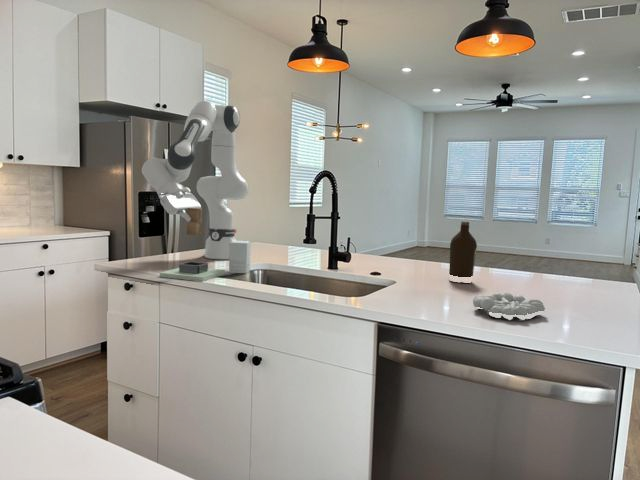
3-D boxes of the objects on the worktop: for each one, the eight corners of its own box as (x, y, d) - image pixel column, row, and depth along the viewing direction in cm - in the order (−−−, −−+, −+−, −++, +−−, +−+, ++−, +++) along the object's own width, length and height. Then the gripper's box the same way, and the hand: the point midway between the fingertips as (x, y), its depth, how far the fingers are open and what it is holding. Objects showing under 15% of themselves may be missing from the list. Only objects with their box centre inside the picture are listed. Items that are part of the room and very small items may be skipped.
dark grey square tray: (189, 268, 197) (189, 261, 197) (208, 270, 195) (209, 263, 194) (177, 272, 189) (178, 264, 189) (197, 274, 187) (198, 266, 186)
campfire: (475, 302, 169) (477, 285, 169) (543, 311, 161) (544, 293, 160) (468, 318, 149) (470, 299, 148) (544, 329, 141) (546, 309, 140)
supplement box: (250, 270, 208) (251, 241, 206) (246, 274, 200) (247, 242, 199) (233, 269, 208) (234, 240, 207) (228, 272, 201) (229, 241, 200)
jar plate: (185, 269, 203) (185, 265, 203) (225, 273, 198) (225, 270, 198) (159, 276, 186) (159, 272, 186) (202, 281, 181) (203, 277, 181)
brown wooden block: (192, 233, 193) (192, 207, 192) (201, 234, 192) (202, 208, 191) (186, 234, 189) (187, 208, 188) (196, 235, 188) (196, 208, 187)
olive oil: (451, 283, 201) (456, 222, 199) (444, 278, 212) (448, 220, 209) (477, 284, 202) (482, 223, 199) (468, 279, 212) (473, 221, 210)
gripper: (161, 187, 181) (185, 216, 179) (190, 188, 200) (212, 213, 199) (150, 199, 182) (173, 227, 181) (180, 198, 202) (201, 224, 200)
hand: (194, 220), depth 190 cm, fingers closed on brown wooden block, 4 cm apart
